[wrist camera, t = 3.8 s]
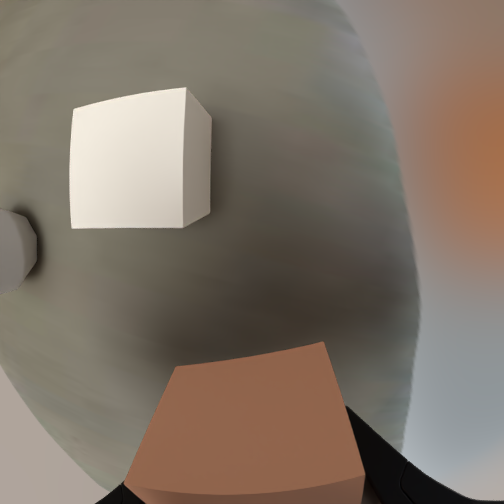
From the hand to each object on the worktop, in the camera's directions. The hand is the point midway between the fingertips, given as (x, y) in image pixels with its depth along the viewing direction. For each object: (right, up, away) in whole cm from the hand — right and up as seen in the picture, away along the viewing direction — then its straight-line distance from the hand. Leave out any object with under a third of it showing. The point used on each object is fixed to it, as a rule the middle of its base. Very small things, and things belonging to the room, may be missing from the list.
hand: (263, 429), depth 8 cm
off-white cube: (-5, +11, +6) cm, 13 cm away
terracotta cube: (0, 0, +1) cm, 1 cm away
